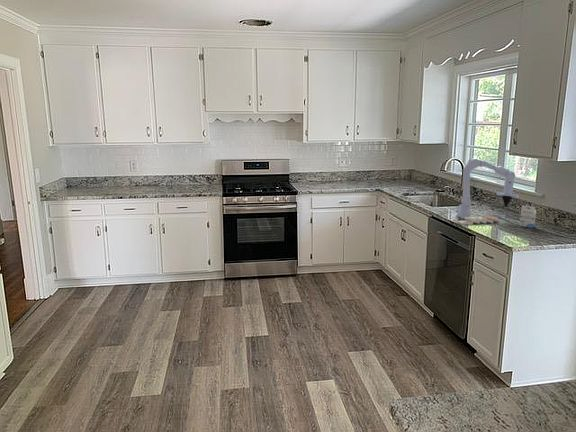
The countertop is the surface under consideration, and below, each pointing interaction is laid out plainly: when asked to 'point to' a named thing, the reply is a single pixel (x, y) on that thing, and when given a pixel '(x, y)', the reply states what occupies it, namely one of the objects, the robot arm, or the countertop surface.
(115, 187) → the countertop surface
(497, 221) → the terracotta domino
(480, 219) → the cream domino
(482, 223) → the mat
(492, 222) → the cream domino
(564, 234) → the countertop surface
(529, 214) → the ink box
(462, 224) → the cream domino
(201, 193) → the countertop surface
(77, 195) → the countertop surface
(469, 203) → the robot arm
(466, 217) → the cream domino
